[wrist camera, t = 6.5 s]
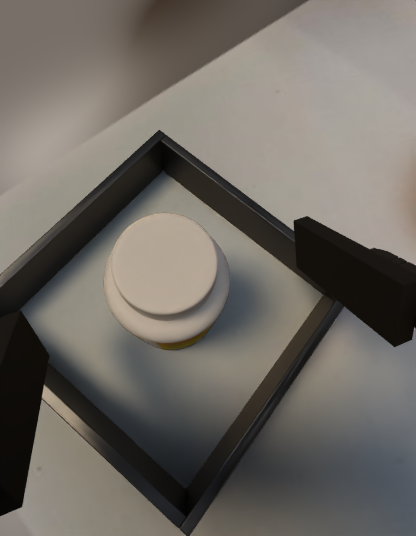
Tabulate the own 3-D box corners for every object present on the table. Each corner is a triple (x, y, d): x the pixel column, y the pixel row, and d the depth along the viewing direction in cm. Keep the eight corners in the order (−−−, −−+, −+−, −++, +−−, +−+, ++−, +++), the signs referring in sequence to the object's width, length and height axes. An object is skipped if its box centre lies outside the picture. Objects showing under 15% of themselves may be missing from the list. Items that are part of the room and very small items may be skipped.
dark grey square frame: (187, 506, 18) (188, 538, 15) (-9, 324, 20) (-47, 316, 17) (334, 293, 23) (361, 281, 19) (162, 161, 25) (159, 129, 21)
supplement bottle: (226, 288, 22) (263, 228, 12) (193, 365, 20) (203, 366, 11) (154, 255, 22) (133, 171, 13) (115, 328, 21) (56, 296, 11)
